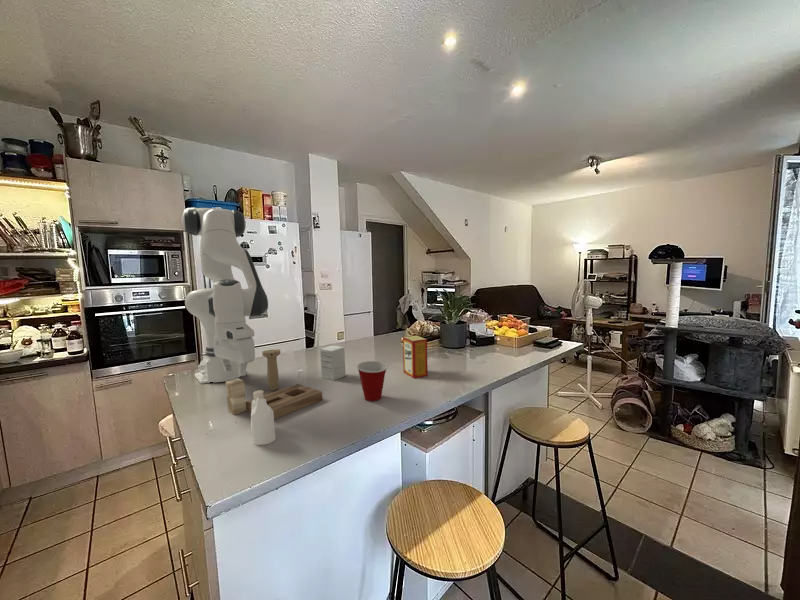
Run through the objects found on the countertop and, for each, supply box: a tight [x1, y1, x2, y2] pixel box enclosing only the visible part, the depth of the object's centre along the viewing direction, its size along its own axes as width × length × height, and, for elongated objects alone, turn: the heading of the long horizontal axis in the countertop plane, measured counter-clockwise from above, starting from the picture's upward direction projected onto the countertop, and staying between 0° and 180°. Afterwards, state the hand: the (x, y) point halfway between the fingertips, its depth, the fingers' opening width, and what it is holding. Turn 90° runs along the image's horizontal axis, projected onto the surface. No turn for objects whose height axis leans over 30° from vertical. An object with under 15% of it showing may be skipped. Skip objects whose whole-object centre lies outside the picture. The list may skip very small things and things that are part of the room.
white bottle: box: [250, 389, 267, 432], centre depth 94 cm, size 5×5×11 cm
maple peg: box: [225, 378, 247, 416], centre depth 107 cm, size 4×4×10 cm
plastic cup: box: [356, 360, 389, 402], centre depth 114 cm, size 11×11×12 cm
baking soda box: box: [402, 335, 429, 379], centre depth 139 cm, size 10×6×16 cm
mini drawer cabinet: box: [319, 345, 347, 381], centre depth 139 cm, size 7×7×13 cm
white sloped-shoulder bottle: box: [250, 398, 276, 446], centre depth 87 cm, size 6×12×6 cm
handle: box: [262, 349, 281, 391], centre depth 125 cm, size 5×6×15 cm
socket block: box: [246, 383, 323, 420], centre depth 111 cm, size 14×20×3 cm
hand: (234, 373), depth 106 cm, fingers open, 8 cm apart
